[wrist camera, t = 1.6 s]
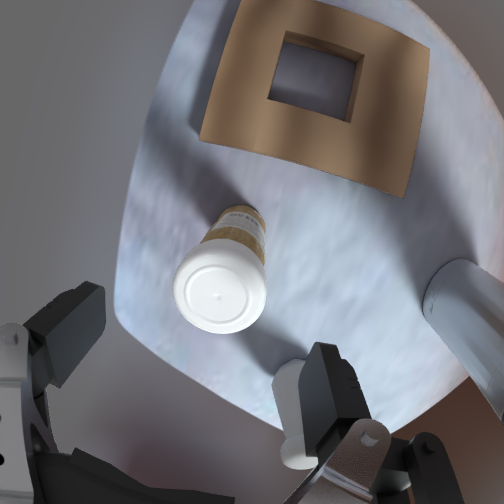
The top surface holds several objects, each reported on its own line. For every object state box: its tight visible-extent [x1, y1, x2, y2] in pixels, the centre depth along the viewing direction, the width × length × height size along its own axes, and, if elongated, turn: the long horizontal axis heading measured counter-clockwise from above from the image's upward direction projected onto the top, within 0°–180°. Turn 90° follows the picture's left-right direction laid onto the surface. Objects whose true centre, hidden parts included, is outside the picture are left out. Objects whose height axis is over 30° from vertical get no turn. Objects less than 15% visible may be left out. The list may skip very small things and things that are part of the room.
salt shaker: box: [272, 359, 318, 469], centre depth 24 cm, size 6×6×13 cm
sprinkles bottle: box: [172, 205, 267, 334], centre depth 19 cm, size 5×5×14 cm
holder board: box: [199, 0, 430, 199], centre depth 20 cm, size 18×16×2 cm
